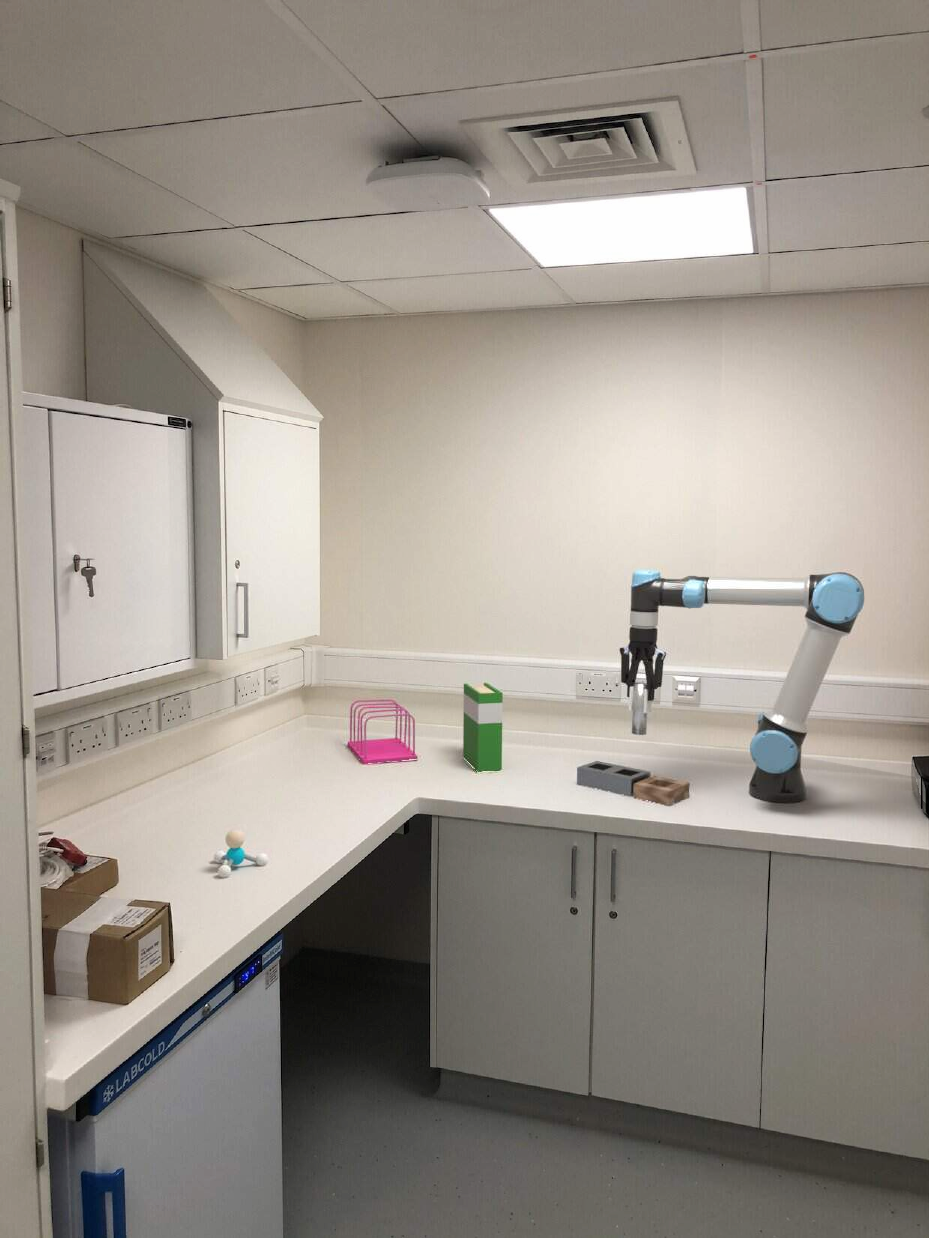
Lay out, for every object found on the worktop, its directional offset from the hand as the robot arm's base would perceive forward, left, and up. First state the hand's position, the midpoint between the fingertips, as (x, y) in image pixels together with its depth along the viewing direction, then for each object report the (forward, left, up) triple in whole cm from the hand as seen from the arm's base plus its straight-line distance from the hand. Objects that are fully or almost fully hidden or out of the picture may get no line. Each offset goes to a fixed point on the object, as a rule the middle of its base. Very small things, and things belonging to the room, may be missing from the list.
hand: (639, 710), depth 268 cm
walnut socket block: (-7, 0, -23) cm, 24 cm away
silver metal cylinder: (0, 0, -6) cm, 6 cm away
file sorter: (+84, +18, -24) cm, 89 cm away
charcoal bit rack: (+8, 0, -23) cm, 25 cm away
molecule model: (+35, +110, -24) cm, 118 cm away
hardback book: (+51, +7, -23) cm, 57 cm away
